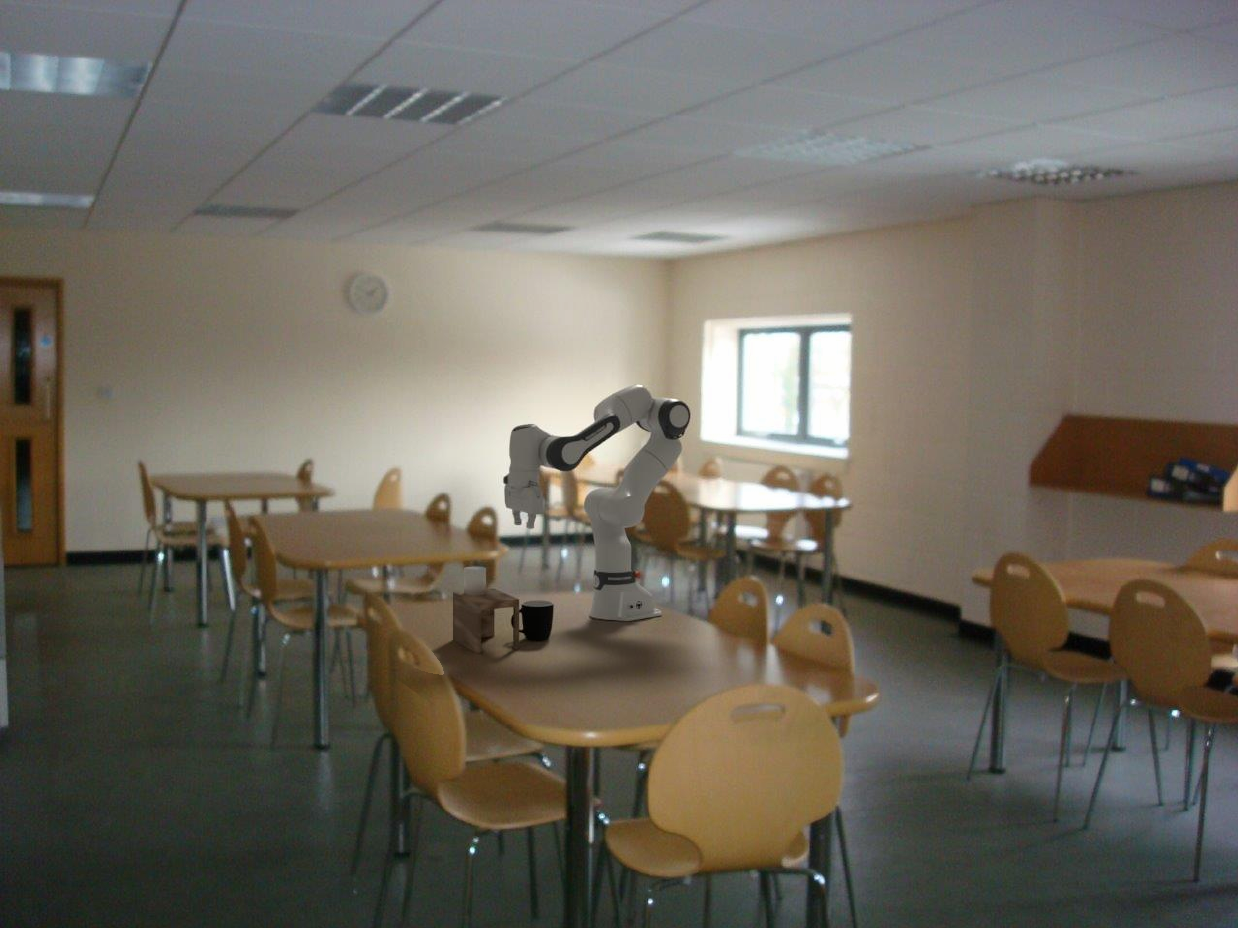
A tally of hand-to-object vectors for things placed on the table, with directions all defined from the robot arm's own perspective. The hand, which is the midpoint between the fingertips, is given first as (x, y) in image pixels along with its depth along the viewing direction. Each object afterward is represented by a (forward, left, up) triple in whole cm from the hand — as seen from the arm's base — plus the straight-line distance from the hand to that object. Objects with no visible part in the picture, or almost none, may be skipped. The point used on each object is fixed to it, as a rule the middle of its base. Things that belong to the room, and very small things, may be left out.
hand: (524, 526), depth 341 cm
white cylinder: (+21, +14, -16) cm, 30 cm away
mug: (+5, +18, -30) cm, 35 cm away
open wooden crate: (+19, +18, -29) cm, 40 cm away
